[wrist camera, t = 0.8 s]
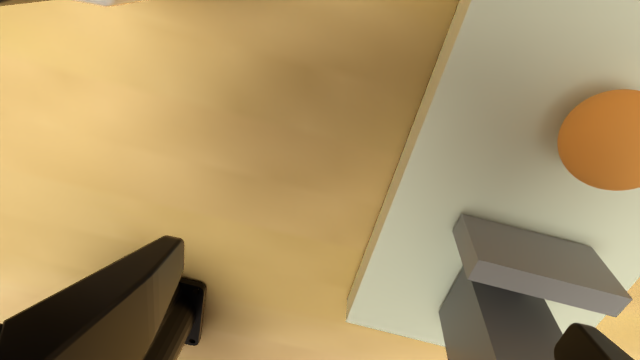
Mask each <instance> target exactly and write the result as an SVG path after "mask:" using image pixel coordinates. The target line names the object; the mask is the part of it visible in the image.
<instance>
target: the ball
mask: <svg viewBox="0 0 640 360" xmlns="http://www.w3.org/2000/svg"><path fill="white" fill-rule="evenodd" d="M557 145H558V153H559V156H560V159H561V161H562V163H563V165H564V166H565V167H566V169H567V170H568V171H569V172H570V173H571V174H572V175H573V176H574V177H575V178H577V179H578V180H580V181H581V182H583V183H585V184H587V185H589V186H592V187H595V188H599V189H604V190H612V191H622V190H631V189H636V188H639V187H640V91H638V90H631V89H620V90H611V91H606V92H602V93H599V94H597V95H594V96H591V97H590V98H588V99H586V100H584V101H583V102H581V103H580V104H578V105H577V106H576V107H575V108H574V109H573V110H572V111H571V112H570V113H569V114H568V115H567V116H566V118H565V119H564V121H563V123H562V125H561V127H560V130H559V134H558V139H557Z"/></svg>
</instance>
